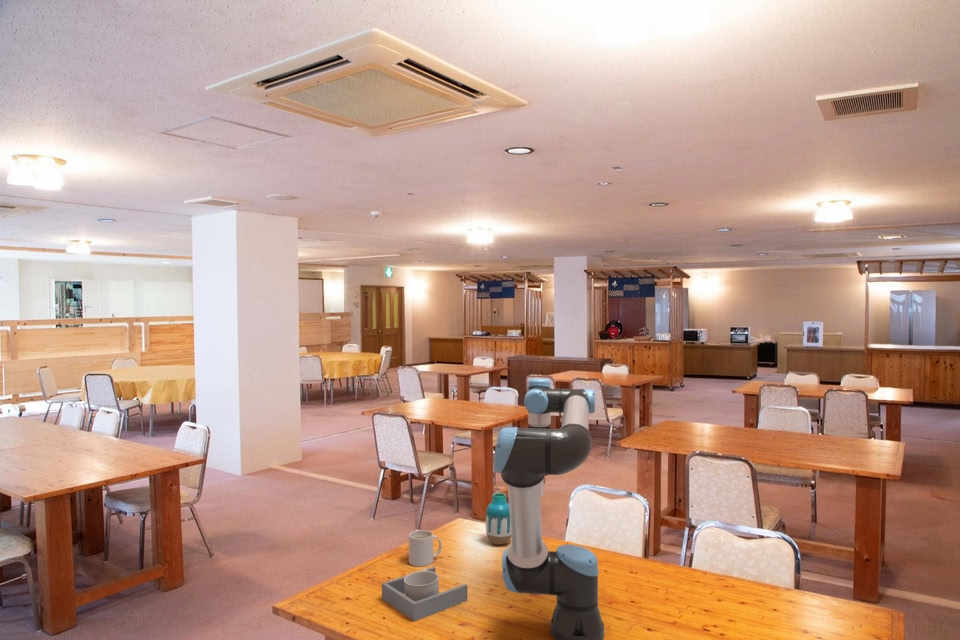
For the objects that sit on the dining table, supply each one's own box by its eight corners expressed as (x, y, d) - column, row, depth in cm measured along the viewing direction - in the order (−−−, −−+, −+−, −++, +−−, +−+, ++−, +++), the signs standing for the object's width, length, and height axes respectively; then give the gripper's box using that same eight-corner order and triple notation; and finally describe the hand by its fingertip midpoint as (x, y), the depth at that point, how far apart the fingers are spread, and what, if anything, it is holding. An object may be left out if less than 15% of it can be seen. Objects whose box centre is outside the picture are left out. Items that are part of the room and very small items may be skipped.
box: (467, 601, 195) (467, 585, 195) (414, 621, 182) (414, 604, 182) (433, 581, 209) (433, 566, 209) (381, 599, 196) (381, 583, 196)
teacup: (432, 612, 187) (432, 586, 187) (398, 608, 190) (398, 582, 190) (446, 592, 201) (446, 567, 201) (414, 588, 204) (414, 564, 204)
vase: (481, 540, 246) (481, 492, 246) (505, 536, 251) (505, 489, 250) (493, 549, 236) (493, 499, 236) (517, 545, 241) (517, 496, 241)
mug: (404, 565, 223) (404, 537, 222) (415, 555, 232) (415, 528, 232) (433, 568, 219) (433, 540, 219) (442, 558, 228) (442, 531, 228)
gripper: (544, 421, 215) (544, 489, 215) (517, 425, 206) (517, 496, 207) (560, 424, 209) (560, 493, 209) (533, 428, 201) (533, 501, 201)
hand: (539, 494), depth 208 cm, fingers closed
